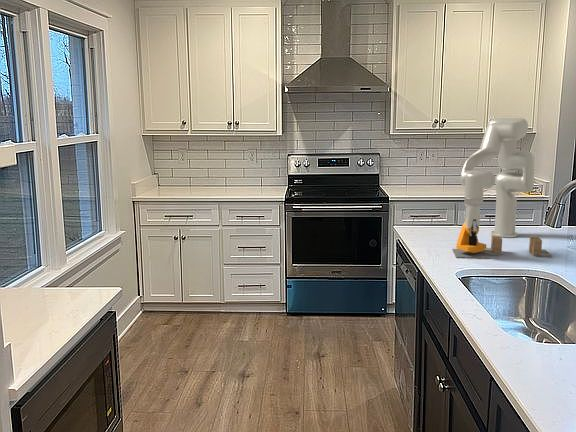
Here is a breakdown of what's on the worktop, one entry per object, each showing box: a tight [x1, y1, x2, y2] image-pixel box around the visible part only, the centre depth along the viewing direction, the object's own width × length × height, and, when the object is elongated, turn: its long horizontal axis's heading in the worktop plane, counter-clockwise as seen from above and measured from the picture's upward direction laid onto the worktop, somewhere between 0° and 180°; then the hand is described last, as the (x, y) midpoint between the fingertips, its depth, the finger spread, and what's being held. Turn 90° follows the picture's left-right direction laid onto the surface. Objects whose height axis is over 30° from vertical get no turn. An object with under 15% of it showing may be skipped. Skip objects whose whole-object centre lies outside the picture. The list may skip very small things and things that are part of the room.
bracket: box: [455, 222, 487, 253], centre depth 240 cm, size 11×7×12 cm, turn 118°
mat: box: [452, 248, 492, 260], centre depth 242 cm, size 14×14×1 cm
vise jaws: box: [483, 234, 553, 258], centre depth 242 cm, size 10×27×7 cm, turn 80°
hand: (471, 243), depth 242 cm, fingers closed on bracket, 4 cm apart
